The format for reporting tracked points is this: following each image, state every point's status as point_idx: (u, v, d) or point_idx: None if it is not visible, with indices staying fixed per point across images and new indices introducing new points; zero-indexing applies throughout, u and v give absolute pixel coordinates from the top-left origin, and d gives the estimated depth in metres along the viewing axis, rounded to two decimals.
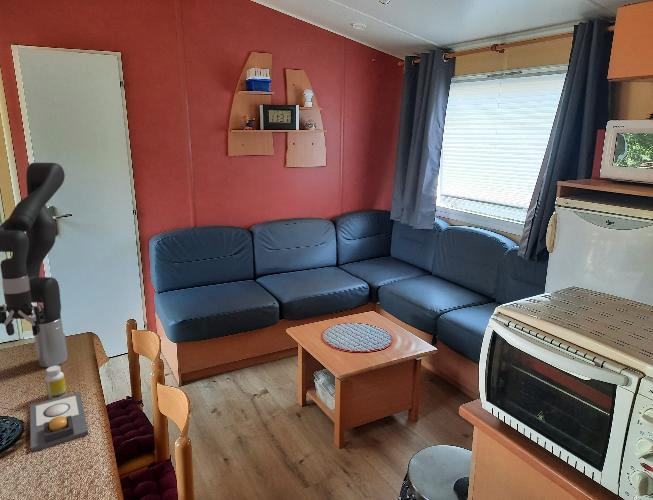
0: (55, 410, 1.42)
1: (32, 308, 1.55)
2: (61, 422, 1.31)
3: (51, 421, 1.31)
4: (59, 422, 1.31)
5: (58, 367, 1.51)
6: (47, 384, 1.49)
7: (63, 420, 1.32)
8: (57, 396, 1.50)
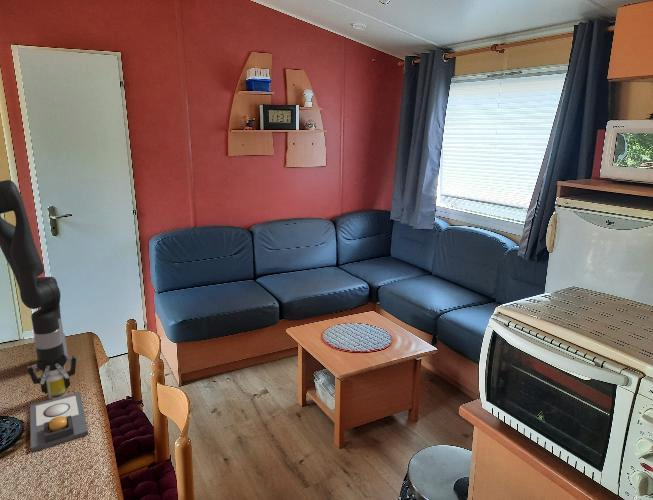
0: (55, 410, 1.42)
1: None
2: (61, 422, 1.31)
3: (51, 421, 1.31)
4: (59, 422, 1.31)
5: None
6: (47, 384, 1.49)
7: (63, 420, 1.32)
8: (57, 396, 1.50)
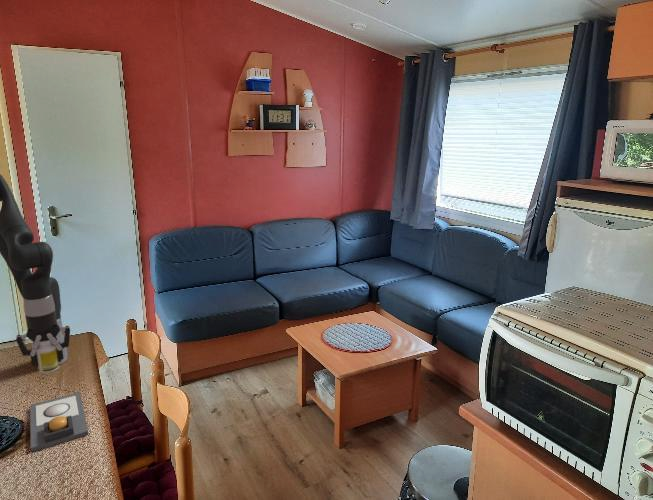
0: (55, 410, 1.42)
1: None
2: (61, 422, 1.31)
3: (51, 421, 1.31)
4: (59, 422, 1.31)
5: None
6: (38, 356, 1.35)
7: (63, 420, 1.32)
8: (49, 370, 1.36)
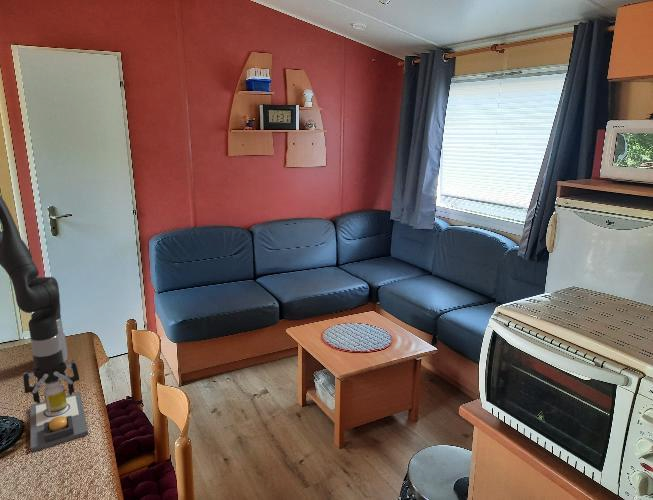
0: None
1: None
2: (61, 422, 1.31)
3: (51, 421, 1.31)
4: (59, 422, 1.31)
5: (58, 379, 1.41)
6: (46, 398, 1.39)
7: (63, 420, 1.32)
8: (57, 411, 1.40)
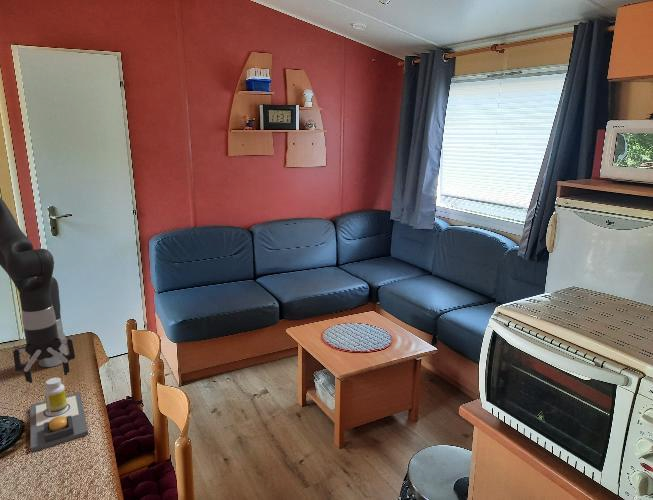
0: None
1: None
2: (61, 422, 1.31)
3: (51, 421, 1.31)
4: (59, 422, 1.31)
5: (59, 379, 1.41)
6: (46, 398, 1.39)
7: (63, 420, 1.32)
8: (57, 411, 1.40)
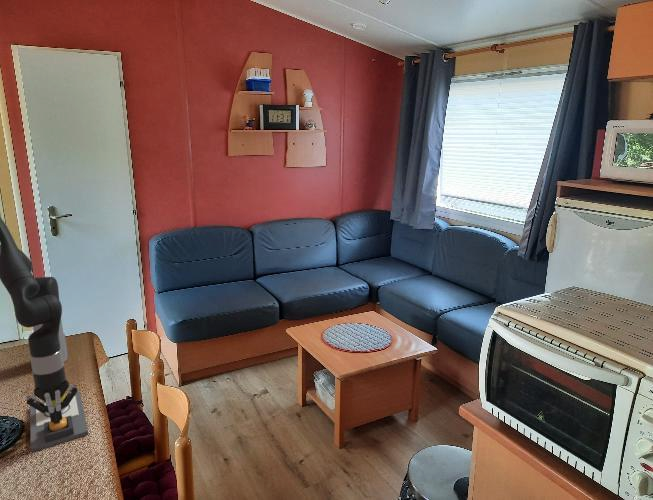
0: None
1: None
2: (61, 423, 1.31)
3: (51, 422, 1.31)
4: (59, 423, 1.31)
5: None
6: None
7: (63, 420, 1.32)
8: None
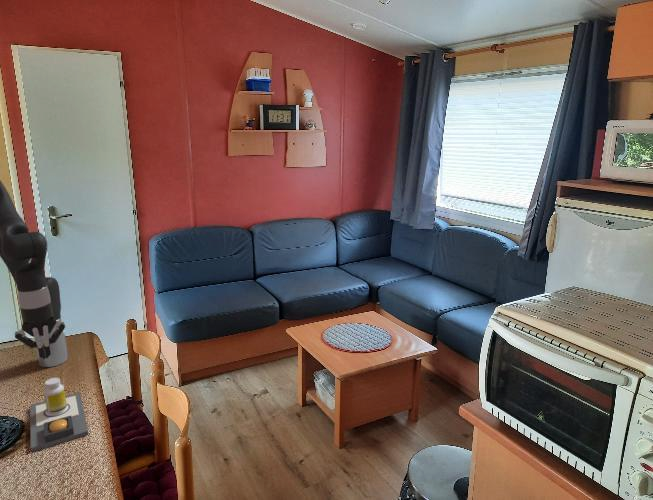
0: None
1: None
2: (61, 425, 1.31)
3: (52, 425, 1.32)
4: (60, 426, 1.31)
5: (58, 380, 1.41)
6: (46, 398, 1.39)
7: (63, 423, 1.32)
8: (56, 411, 1.40)
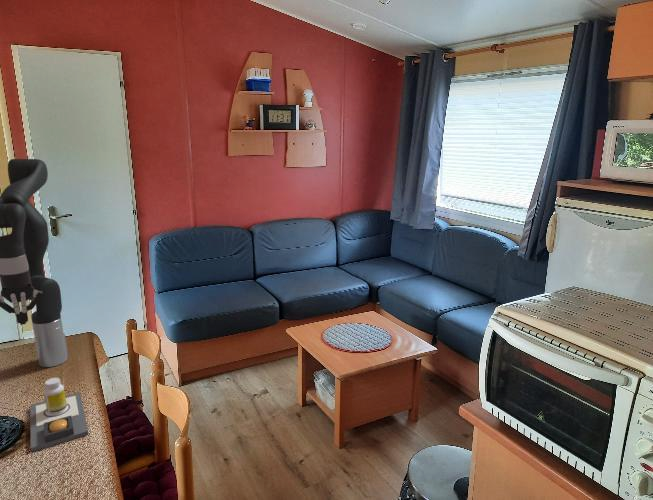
0: None
1: None
2: (61, 425, 1.31)
3: (52, 425, 1.32)
4: (60, 426, 1.31)
5: (58, 380, 1.41)
6: (46, 398, 1.39)
7: (63, 423, 1.32)
8: (56, 411, 1.40)
